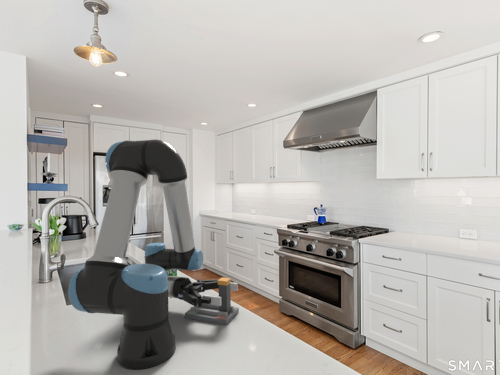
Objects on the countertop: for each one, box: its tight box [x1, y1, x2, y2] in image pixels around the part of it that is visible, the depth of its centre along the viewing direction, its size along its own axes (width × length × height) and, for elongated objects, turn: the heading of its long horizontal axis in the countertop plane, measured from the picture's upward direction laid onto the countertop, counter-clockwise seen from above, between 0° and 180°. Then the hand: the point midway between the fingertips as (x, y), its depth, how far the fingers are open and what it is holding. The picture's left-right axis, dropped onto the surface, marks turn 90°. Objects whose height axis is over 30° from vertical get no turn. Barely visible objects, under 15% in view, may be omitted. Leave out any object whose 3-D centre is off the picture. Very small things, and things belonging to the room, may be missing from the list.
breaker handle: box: [218, 277, 232, 313], centre depth 100 cm, size 3×3×11 cm
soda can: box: [166, 269, 178, 276], centre depth 137 cm, size 8×8×12 cm
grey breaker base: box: [184, 303, 240, 326], centre depth 102 cm, size 10×16×3 cm, turn 69°
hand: (229, 293), depth 100 cm, fingers open, 13 cm apart
